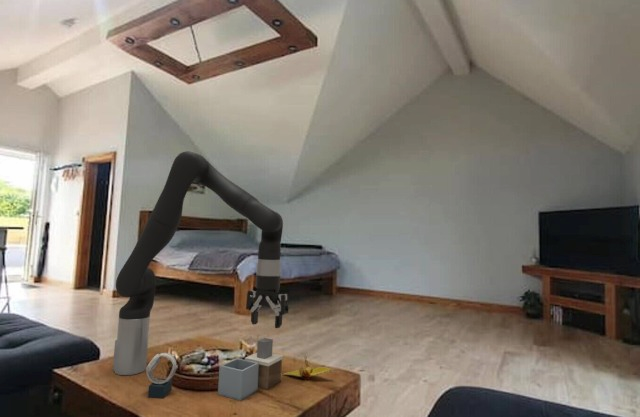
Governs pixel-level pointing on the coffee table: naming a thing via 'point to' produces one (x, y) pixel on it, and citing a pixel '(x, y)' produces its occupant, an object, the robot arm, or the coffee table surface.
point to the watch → (160, 386)
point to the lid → (264, 353)
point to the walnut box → (269, 375)
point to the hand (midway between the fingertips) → (266, 325)
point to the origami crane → (308, 371)
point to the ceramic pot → (238, 379)
